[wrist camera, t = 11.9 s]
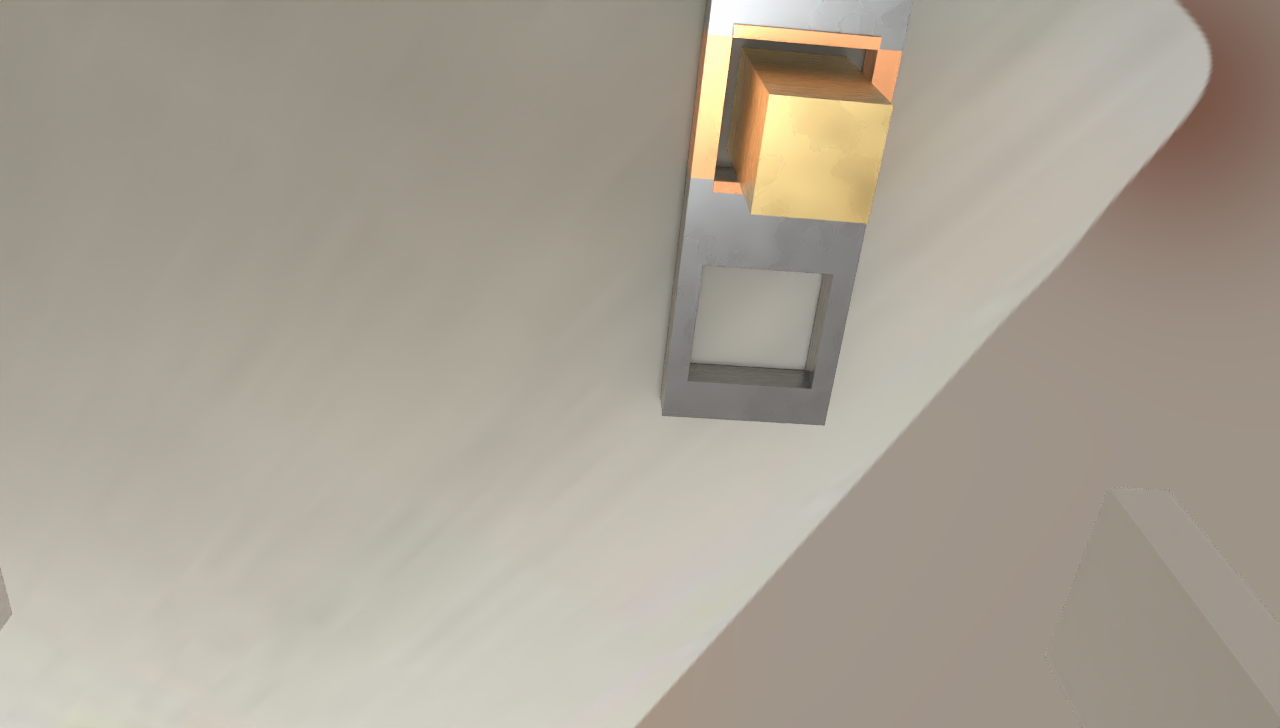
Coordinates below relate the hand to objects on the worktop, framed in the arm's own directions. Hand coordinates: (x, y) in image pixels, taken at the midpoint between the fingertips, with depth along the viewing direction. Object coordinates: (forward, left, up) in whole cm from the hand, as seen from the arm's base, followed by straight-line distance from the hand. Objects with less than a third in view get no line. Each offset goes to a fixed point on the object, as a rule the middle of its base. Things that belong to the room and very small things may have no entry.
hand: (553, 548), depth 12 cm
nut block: (+9, -3, -35) cm, 36 cm away
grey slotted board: (+9, -8, -35) cm, 37 cm away
